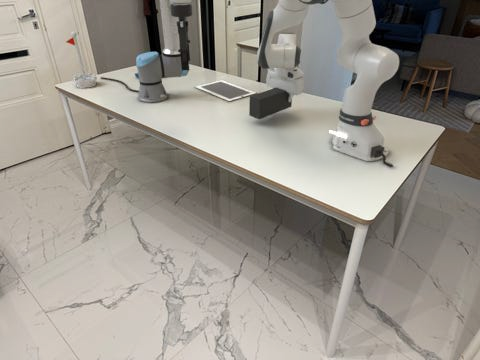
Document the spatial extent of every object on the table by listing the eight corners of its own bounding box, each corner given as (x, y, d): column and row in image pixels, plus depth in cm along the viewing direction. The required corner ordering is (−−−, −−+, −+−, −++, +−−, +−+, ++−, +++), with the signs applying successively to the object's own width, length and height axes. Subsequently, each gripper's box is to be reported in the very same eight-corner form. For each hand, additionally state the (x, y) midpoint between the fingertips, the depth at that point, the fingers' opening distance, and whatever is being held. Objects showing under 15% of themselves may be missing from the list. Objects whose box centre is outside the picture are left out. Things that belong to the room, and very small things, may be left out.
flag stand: (97, 80, 212) (85, 28, 195) (98, 86, 202) (85, 32, 185) (75, 83, 208) (61, 30, 191) (74, 89, 198) (59, 34, 181)
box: (281, 103, 168) (282, 85, 163) (291, 106, 165) (293, 88, 160) (249, 115, 155) (249, 96, 150) (259, 119, 152) (259, 99, 147)
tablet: (194, 87, 200) (194, 86, 200) (221, 80, 211) (221, 79, 211) (229, 101, 180) (229, 101, 180) (256, 93, 191) (256, 92, 191)
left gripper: (172, 0, 130) (178, 57, 141) (167, 8, 109) (174, 74, 120) (192, 0, 130) (196, 57, 142) (190, 7, 109) (195, 74, 121)
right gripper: (263, 67, 160) (262, 95, 167) (298, 76, 147) (295, 106, 155) (272, 64, 163) (271, 92, 171) (307, 73, 151) (303, 103, 158)
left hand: (186, 65), depth 131 cm, fingers open, 13 cm apart
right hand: (282, 99), depth 163 cm, fingers closed on box, 6 cm apart
